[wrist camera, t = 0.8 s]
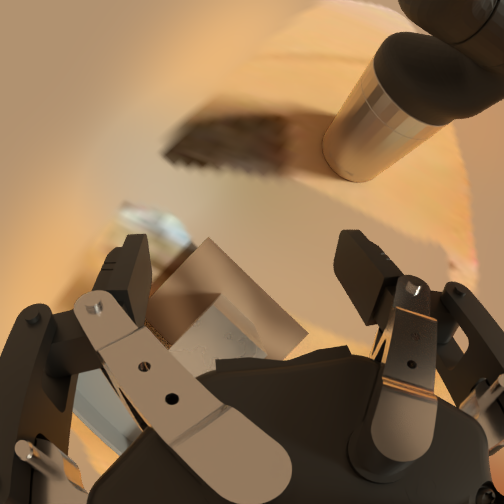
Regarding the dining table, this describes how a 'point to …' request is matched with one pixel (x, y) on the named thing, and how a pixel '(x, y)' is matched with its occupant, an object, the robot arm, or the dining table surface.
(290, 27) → the dining table surface
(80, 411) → the grey tray
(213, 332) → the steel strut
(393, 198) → the dining table surface
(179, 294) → the stud block
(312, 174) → the dining table surface
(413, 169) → the dining table surface
